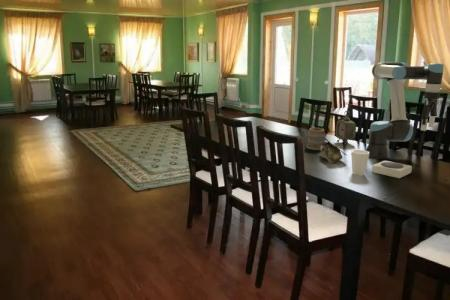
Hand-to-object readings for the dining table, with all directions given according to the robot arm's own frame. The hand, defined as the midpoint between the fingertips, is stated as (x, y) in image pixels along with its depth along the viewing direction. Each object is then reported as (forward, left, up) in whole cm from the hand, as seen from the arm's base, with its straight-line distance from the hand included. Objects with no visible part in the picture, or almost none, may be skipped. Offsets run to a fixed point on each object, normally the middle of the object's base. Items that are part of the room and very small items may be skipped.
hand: (427, 128), depth 224 cm
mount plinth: (-10, -17, -25) cm, 32 cm away
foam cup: (-21, -35, -25) cm, 48 cm away
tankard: (-77, +4, -25) cm, 81 cm away
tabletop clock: (-68, +32, -25) cm, 80 cm away
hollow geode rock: (-50, -17, -25) cm, 58 cm away
